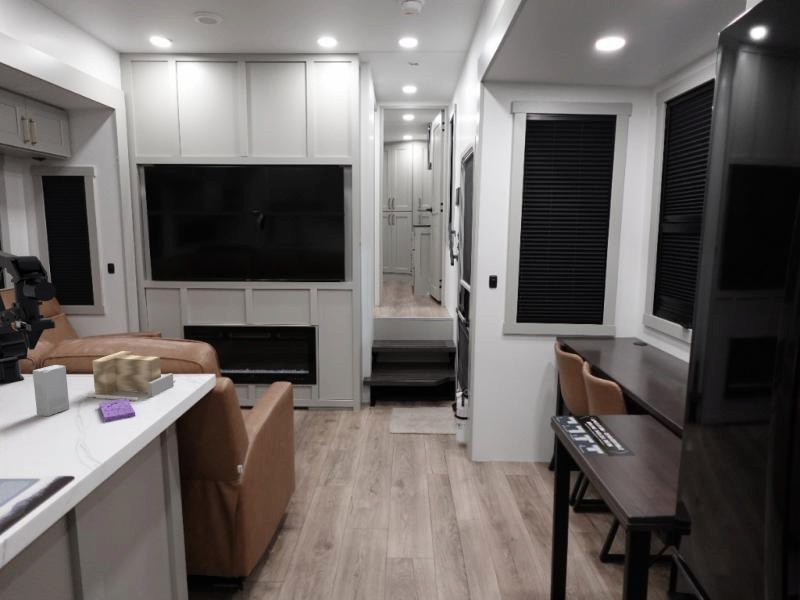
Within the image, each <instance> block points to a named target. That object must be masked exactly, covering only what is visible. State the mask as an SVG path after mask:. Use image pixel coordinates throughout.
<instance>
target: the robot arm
mask: <svg viewBox="0 0 800 600" xmlns="http://www.w3.org/2000/svg"><path fill="white" fill-rule="evenodd" d="M5 269H6V271H5V272H6V273H7V274H9V275H10V276H11V277H12V278H11V279H10V283H13V291H14V301H12V303H11V307H9V308H6V305H5V303H4V300H3V297H2V294H1V293H0V384H5V383H12V382H18V381H23V380H25V377H24V376H23V375H22V373H21V364H20V361H21V360H27V359H28V351H34V350H35V349H36V347H37V344H38V343H39V340H40V339H41V337H42V335H43V332H44V331H45V330H51V329H55V328H57V327H56V321H55V320H54V319H52V318H48V317H44V314H42V313H41V306H42V305H43V302H49V301H52V300H53V299H54V298H55V296H56V295H57V289H56V286H55V285H54V283H52V282H49V276H48V271H47V270H46V269H45V267H44V265H43V264H42V262H41V260H40V259H39V257H38V256H36V255H15V254H13V253H8V252H5V251H2V250H1V249H0V281H1V280H2V273H3V271H4V270H5ZM13 323H15V325H16V326H13V325H12V324H13Z"/></svg>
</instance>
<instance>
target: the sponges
mask: <svg viewBox="0 0 800 600" xmlns="http://www.w3.org/2000/svg"><path fill="white" fill-rule="evenodd" d="M98 405H99V409H100V412H102V413H101V416H102V418H103V421H104V422H107V423H109V422H112V421H117V420H122V418H123V419H128V418H132V416H133V417H136V411H135V409H134V408H133V406H132V404H131V402H130V400H128V398H125V399H120V400H118V399H113V400H110V401H104V402H99V403H98ZM127 417H128V418H127Z"/></svg>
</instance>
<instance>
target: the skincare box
mask: <svg viewBox="0 0 800 600" xmlns="http://www.w3.org/2000/svg"><path fill="white" fill-rule="evenodd" d="M66 368H67V367H66V366H65V365H62V364H61V365H60V364H53V365H49V366H46V367H42V368H38V369H33V370H32V378H33V379H32V380H33V388H34V398H35V408H36V414H37V415H39V416H42V415H43V417H50V416H53V415H55V414H57V413H58V412H59V413H61V412H64V411H67V410H70V399H69V389H68V388H69V387H68V378H67V369H66Z"/></svg>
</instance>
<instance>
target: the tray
mask: <svg viewBox="0 0 800 600" xmlns="http://www.w3.org/2000/svg"><path fill="white" fill-rule="evenodd" d="M175 383H176V379H174V374H173V373H171V372H170V373H167V374H165V375H162V376H161V377H160V378H158V379H156V380H154V381H151V382H149V383H148V393H147V395H148V397H149V396H153V397H155V396H156V394H157V395H159V394H160V392H161V393H162V392H164V391H167V390H169V389H170V388H173V387H174V386H175V385H174V384H175ZM158 393H159V394H158ZM154 395H155V396H154ZM92 397H96V398H95V399H105V398H107V399H109V400H120V399H125V398H128V400H129V401H130V400H131V401H133V402H138V401H139V397H133V396H120V395H110V394H108V395H104V394H95V393H88V394H86V398H92ZM107 399H106V400H107Z"/></svg>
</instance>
